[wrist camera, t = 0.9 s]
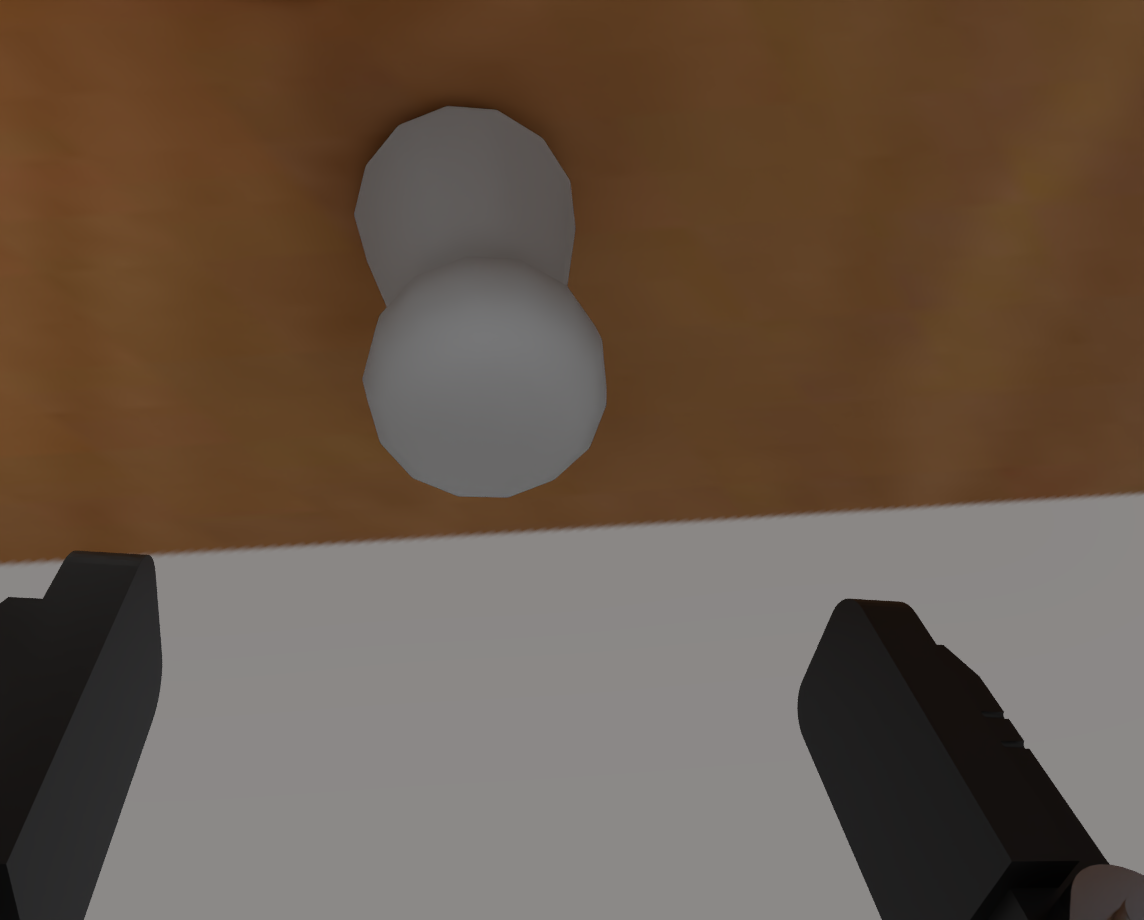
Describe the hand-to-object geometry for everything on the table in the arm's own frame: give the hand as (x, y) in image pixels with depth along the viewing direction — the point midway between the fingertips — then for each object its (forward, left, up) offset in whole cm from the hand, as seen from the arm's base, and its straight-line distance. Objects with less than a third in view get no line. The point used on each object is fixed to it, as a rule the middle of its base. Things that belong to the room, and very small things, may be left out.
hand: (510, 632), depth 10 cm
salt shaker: (0, 0, -18) cm, 18 cm away
